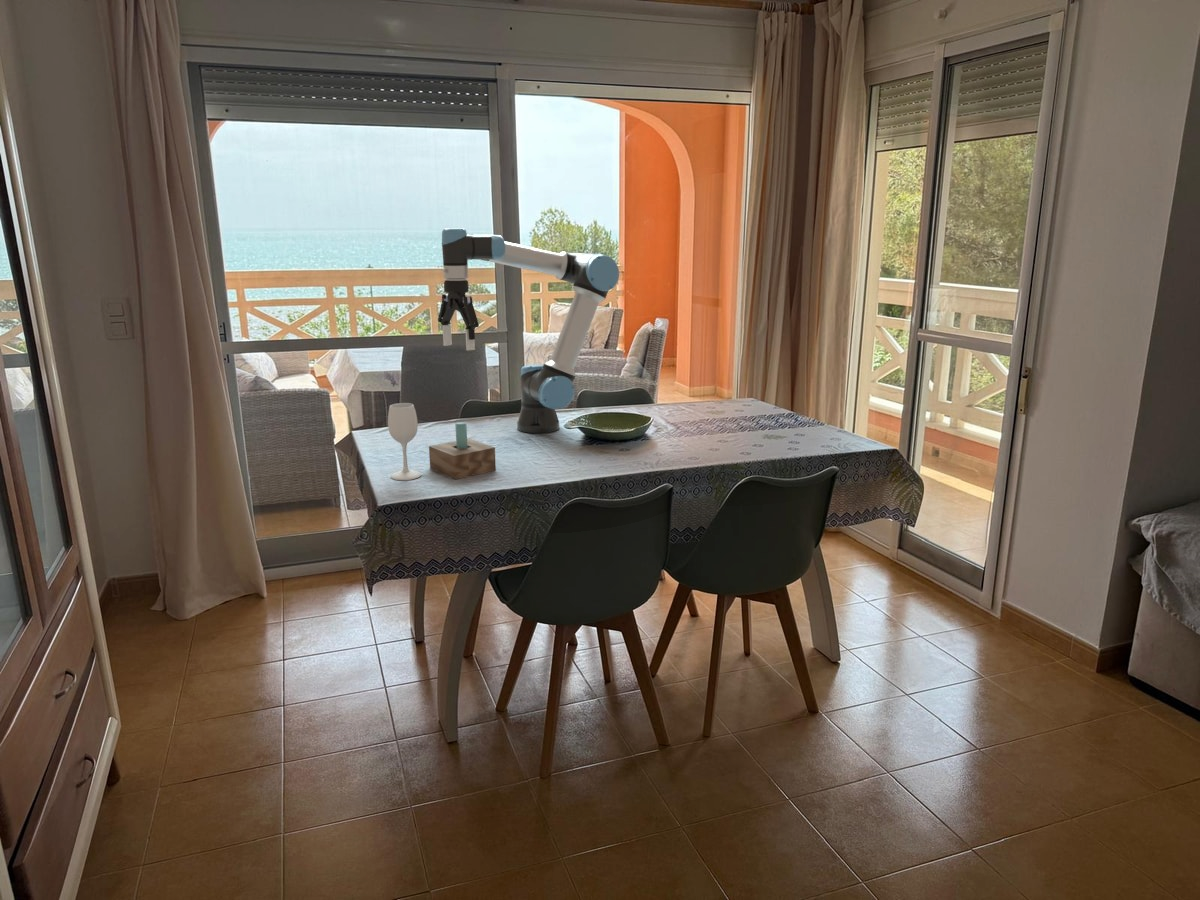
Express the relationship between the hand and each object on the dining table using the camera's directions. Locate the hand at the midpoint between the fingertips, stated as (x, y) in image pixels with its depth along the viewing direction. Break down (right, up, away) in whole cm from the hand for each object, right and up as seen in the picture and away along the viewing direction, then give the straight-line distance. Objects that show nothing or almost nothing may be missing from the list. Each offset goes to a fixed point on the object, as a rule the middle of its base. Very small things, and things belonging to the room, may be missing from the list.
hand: (458, 347), depth 255 cm
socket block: (+4, -38, -16) cm, 42 cm away
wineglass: (-11, -40, -23) cm, 48 cm away
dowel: (+4, -37, -17) cm, 40 cm away
